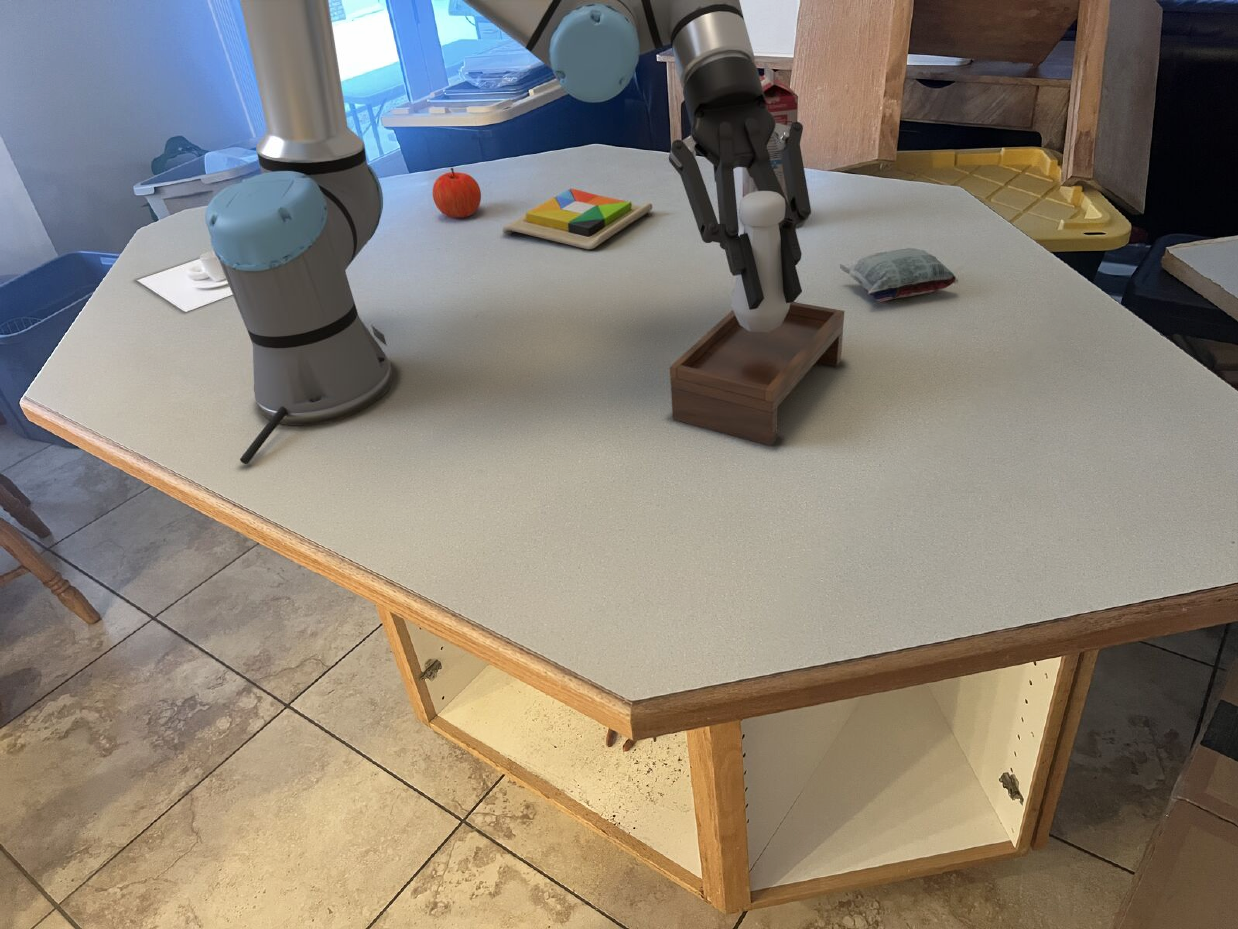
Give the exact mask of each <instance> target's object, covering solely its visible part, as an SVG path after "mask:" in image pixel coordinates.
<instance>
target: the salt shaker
mask: <svg viewBox="0 0 1238 929" xmlns="http://www.w3.org/2000/svg"><path fill="white" fill-rule="evenodd" d="M785 207H786V205H785V199H784V198H783V197H782V196H781V195H780V194H779V193H776V192H772V191H756V192H752V193H749V194H747V195H745V196H744V197H743V198H741V199H740V201H739V204H738V220H739V221H740V222H741V223H742V224H744V230H743V234H746V233H748V236H749V240H750V244H751V248H752V252H753V256H754V260H755V264H756V267H757V271H758V275H759V279H760V283H761V287H762V291H763V295H764V299H763V301H762V302H761V304H760V305H759V307H758V308H757V309H752V310H749V306H748V302H747V298H746V294H745V290H744V286H743V282H742V276H741V275H736V276H735V281H734V286H733V291H732V298H731V302H730V303H731V309H732V310H733V311H734V313H735V316H736V318H737V320H738V322H739V324H740V325H741V326H742V327H744V328H745V329H747V330H748V331H750V332H770V331H772V330H774V329H775V328H777V327H779V326H781V325H782V322H783V320H784V318H785V316H786V314H787V312H788V310H789V307H790V303H786V300H785V296H784V292H783V279H782V263H781V238H780V231H779V225H778V223H779V222H781V221H782V220H784V217H785Z"/></svg>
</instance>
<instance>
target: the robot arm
mask: <svg viewBox="0 0 1238 929" xmlns="http://www.w3.org/2000/svg"><path fill="white" fill-rule="evenodd" d="M461 1H462V2H463V3H464V4H466V5H468V7H470V8H472V10H474V11H475V12H477V13H478V14H479V15H480V16H482V17H484V18H485V19H486V20H487V21H488V22H490V23H491V24H493V25H494V26H495V27H497V29H499V30H501V32H503V33H505V34H506V35H507V36H509V37H510V38H511V39H513V40H514V41H515V42H517V43H518V44H519V45H521V47H523V48H524V49H526V50H527V51H528V52H529V53H531V54H532V55H533V56H534V57H535V58H537V59H538V60H539V61H541V62H542V63H543V64H545V65H546V66H547V67H548V68H550V69H551V71H552V73H553V76H554V77H555V80H557V82H558V84H559V85H560V87H561V88H562V89H563V90H564V91H565V92H566V93H567V94H569V95H570V96H571V97H573V98H575V99H576V100H579V101H582V102H584V103H585V102H586V103H602V102H606V101H608V100H611V99H613V98H614V97H616V96H618V95H619V94H620V93H621V92H622V91H624V89H625V88H626V87H627V86H628V85H629V84H630V82H631V79H632V78H633V76H634V74H635V73H636V68H637V66H638V63H639V59H640V56H642V55H644V54H646V53H649V52H653V51H654V50H658V49H661V48H663V47H665V46H668V45H670V46H671V50H672V54H673V58H674V61H675V65H676V70H677V74H678V79H679V83H680V86H681V87H682V96H683V99H684V104H685V108H686V113H687V116H688V120H689V124H690V132H689V135H688V136H687V137H686V138H684V139H683V140H681V139H675V140H673V142H672V144H671V147H670V151H669V155H668V162H669V164H670V165H672V167H673V168H674V170H675V171H676V172H677V173H678V175H679V176H680V179H681V183H682V185H683V187H684V190H685V193H686V196H687V199H688V202H689V206H690V208H691V211H692V214H693V217H694V220H695V222H696V225H697V228H698V231H699V234H700V237H701V240H702V241H703V243H705V244H711V243H718V244H719V247H720V248H721V249H722V250H724V252H725V256H726V260H727V264H728V269H729V272H730V273H731V275H732V276H733V277H736V275H741V276H742V282H743V286H744V290H745V294H746V298H747V302H748V306H749V310H752V309H757V308H758V307H759V305H760V304H761V302H762V301H763V299H764V295H763V291H762V287H761V283H760V279H759V275H758V271H757V267H756V264H755V260H754V256H753V252H752V248H751V244H750V240H749V236H748V233H746V234H744V233H741V234H739V232H740V228H739V227H740V226H739V214H738V205H737V204H738V203H737V194H736V193H737V192H736V181H735V173H734V172H735V171H734V169H736V168H742V167H744V168H746V169H747V171H748V174H749V176H750V177H751V178H753V180H754V182H755V185H756V187H757V189H758V191H772V192H776V193H779V194H780V195H781V196H782V197H783V198H784V199H785V205H786V207H785V217H784V220H782V221H781V222H779V223H778V225H779V231H780V238H781V263H782V279H783V292H784V296H785V300H786V303H791V302H796V300H797V299H798V297H799V296H800V295H801V294H802V292H803V290H802V286H801V282H800V278H799V274H798V270H797V265H798V264H799V263H800V261H801V259H802V254H803V253H802V248H801V246H800V242H799V238H798V235H797V229H801V228H802V227H803V226H804V225H805V223H806V222H807V220H808V219H809V217H810V216H811V214H812V207H811V201H810V196H809V189H808V184H807V178H806V171H805V167H804V161H803V155H802V150H801V142H802V136H803V135H802V134H803V132H804V126H803V124H802V123H801V122H800V121H797V122H793V123H792V125H791V126H787V125H784V124H780V123H776V121H775V118H774V117H773V115H772V114H771V113H770V112H769V111H768V109H767V107H766V101H765V96H764V92H763V88H762V84H761V81H760V78H761V76H760V74H759V69H758V66H757V65H756V57H755V54H754V50H753V46H752V42H751V39H750V36H749V32H748V28H747V25H746V22H745V18H744V14H743V9H742V4H741V2H740V0H461ZM329 2H330V1H329V0H239V3H240V7H241V12H242V16H243V22H244V26H245V32H246V36H247V40H248V44H249V45H248V46H249V50H250V56H251V60H252V64H253V69H254V74H255V77H256V84H257V88H258V93H259V97H260V102H261V108H262V112H263V117H264V121H265V122H264V123H265V126H266V132H265V134H264V135H263V136H262V138H260V140H259V141H258V143H257V145H256V148H255V149H256V150H255V151H256V154H257V159H258V163H259V168H260V173H259V174H255V175H251V176H249V177H246V178H244V179H243V178H242V179H241V181H240V182H238V183H232V184H230V185H228V186H226V187H225V188H223V189H222V190H220V191H219V192H218V193H217V194H215V195H214V197H212V198H211V200H210V202H209V203H208V205H207V208H206V209H205V210H206V211H205V223H206V227H207V230H208V233H209V236H210V239H209V240H210V243H211V248H212V251H214V253H215V255H216V256H217V257H218V259H219V262H220V264H221V267H222V269H223V272H224V274H225V277H226V279H227V282H228V284H229V287H230V289H231V291H232V294H233V295H232V297H233V299H234V301H235V304H236V306H237V309H238V311H239V314H240V316H241V319H242V322H243V324H244V326H245V329H246V331H247V333H248V336H249V339H250V341H251V344H252V364H253V365H252V366H253V368H252V369H253V392H254V398H255V401H256V403H257V406H258V408H259V411H260V413H261V414H262V415H263V417H265V418H266V419H268V420H269V421H268V422H267V423H266V425H265V426H264V427H263V429H262V430H261V431H260V433H259V434H257V436H256V437H255V439H254V440H253V441H252V442H251V443H250V445H249V446H248V448H246V450H245V452H244V453H243V454H242V455H241V457H240V458H239V461H240V463H242V464H243V465H248V464H249V463H250V462H251V461H252V459H253V458H254V457H255V455H256V454H257V452H258V451H259V450H260V448H262V446H263V444H264V443H265V442H266V441H267V440H268V438H269V436H270V435H271V434H272V433H273V432H274V430H275V429H276V428H277V426H278V425H279V424H282V425H288V426H308V425H309V426H310V425H318V424H324V423H328V422H332V421H336V420H340V419H342V418H346V417H348V416H351V415H353V414H355V413H356V414H357V413H358V412H360V411H362V410H363V409H365V408H367V407H369V406H371V405H373V404H374V403H376V401H378V400H380V398H381V397H383V396H384V395H385V394H386V392H387V391H388V390H389V389H390V387H391V386H392V382H393V379H394V376H393V375H394V374H393V370H392V367H391V363H390V360H389V358H388V356H387V355H386V353H385V351H384V350H383V349H382V347H381V345H379V343H378V341H377V340H379V341H380V342H381V343H382V344H383V345H385V346H386V347H388V345H387V342H386V338H385V335H384V334H383V333H382V332H381V331H379V329H377V328H376V327H375V326H374V325H372V324H370V326H371V329H372V332H373V335H372V333H371V332H370V330H369V329H368V328H367V326H366V325H365V323H364V322H363V321H362V319H361V318H360V316H359V313H358V309H357V306H356V302H355V300H354V296H353V292H352V289H351V285H350V283H349V282H350V281H349V279H348V276H347V272H346V271H347V269H348V267H349V266H350V265H351V264H352V263H353V261H354V260H355V258H356V257H357V256H358V254H359V253H360V252H361V251H362V250H363V249H364V248H365V246H366V245H367V244H368V242H369V241H370V240H371V239H372V238H373V237H374V235H375V233H376V231H377V229H378V227H379V225H380V220H381V217H382V214H383V211H384V210H383V209H384V195H383V194H384V193H383V189H382V184H381V182H380V180H379V178H378V175H377V174H376V171H375V170H374V169H373V167H372V166H371V165H369V164H368V162H367V154H366V148H365V142H364V140H363V139H362V138H361V137H360V136H359V135H358V134H357V133H355V132H354V131H353V130H352V129H351V128H350V127H349V126H348V125H349V124H348V119H347V114H346V113H347V112H346V107H345V101H344V93H343V87H342V81H341V80H342V79H341V75H340V68H339V62H338V53H337V48H336V47H337V46H336V40H335V35H334V29H333V28H334V27H333V22H332V16H331V15H332V14H331V9H330V3H329ZM771 137H773V138H775V140H776V144H777V147H778V150H782V153H781V161H782V168H783V174H784V180H785V186H786V192H787V198H788V202H787V200H786V197H785V195H784V193H783V190H782V188H781V186H780V183H779V181H778V179H777V176H776V174H775V172H774V169H773V167H772V165H771V162H770V154H769V152H768V149H767V144H768V142H769V140H770V138H771ZM697 153H699V154H700V155H701V156H702V157H704V158H705V160H707V161H708V162H709V163H710V164H712V168H713V178H714V182H715V186H716V198H717V210H718V218H717V216H716V213H715V210H714V207H713V204H712V202H711V198H710V196H709V193H708V190H707V186H706V184H705V181H704V179H703V175H702V172H701V170H700V166H699V164H698V161H697V159H696V157H697ZM718 221H719V222H718ZM375 338H376V339H377V340H376V339H375Z"/></svg>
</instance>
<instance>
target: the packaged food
mask: <svg viewBox="0 0 1238 929" xmlns="http://www.w3.org/2000/svg"><path fill="white" fill-rule="evenodd" d="M839 268H840V269H841V271H842V272H844V273H846V274H848V275H849V276H850V278H852V279H853V280H854V281H856V282H857V283H858V284H859V285H860V286H862V287H863V288H864V289H865V290H867V292H868V293H867V294H866V296H868V295H869V297H870V298H873V299H874V300H875V301H877V302H886V301H890V300H895V299H899V298H908V297H914V296H918V295H925V294H929V293H933V292H937V291H940V290H942V289H946V288H948V287H950V286H952V285H953V284H957V283H958V282H959V281H958V279H956V278H957V276H955V274H954V273H953V272H952V271H951V270H950V269H949V268H948V267H947V266H945V264H943V262H941V261H940V260H939V259H938V258H937V257H936V256H934V255H932V254H931V253H929V252H927V251H926V250H923V249H918V248H915V247H914V248H912V247H908V248H901V249H894V250H890V251H889V250H888V251H883V252H878V253H873V254H870V255H867V256H865V257H862V258H861V259H856V260H854V262H851V263H849V264H846V265H844V264H841V263H839Z"/></svg>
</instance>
